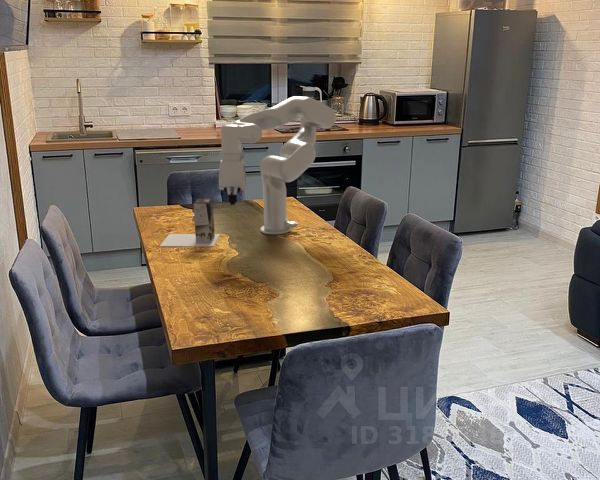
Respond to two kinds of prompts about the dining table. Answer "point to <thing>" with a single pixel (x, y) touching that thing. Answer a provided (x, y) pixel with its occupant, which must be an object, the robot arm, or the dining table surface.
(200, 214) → the coffee box
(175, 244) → the mat
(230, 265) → the dining table surface
